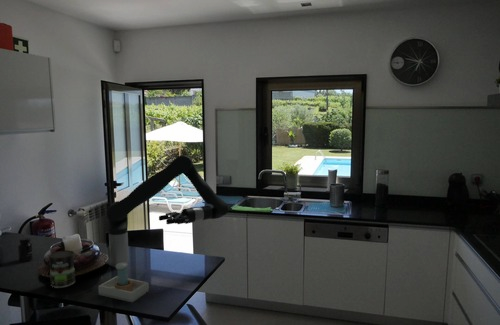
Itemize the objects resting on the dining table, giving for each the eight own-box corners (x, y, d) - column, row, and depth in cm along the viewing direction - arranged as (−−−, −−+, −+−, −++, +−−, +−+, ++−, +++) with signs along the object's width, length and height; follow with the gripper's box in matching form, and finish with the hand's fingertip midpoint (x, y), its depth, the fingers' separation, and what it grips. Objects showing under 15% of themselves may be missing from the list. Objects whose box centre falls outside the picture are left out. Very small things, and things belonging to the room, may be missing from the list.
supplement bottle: (32, 261, 193) (30, 240, 192) (17, 263, 191) (15, 241, 190) (34, 257, 200) (33, 236, 199) (20, 258, 197) (18, 237, 196)
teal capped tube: (115, 291, 157) (113, 266, 155) (124, 286, 161) (121, 261, 159) (124, 294, 155) (121, 267, 153) (132, 288, 159) (129, 263, 157)
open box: (98, 294, 156) (98, 284, 156) (116, 284, 166) (116, 274, 166) (132, 302, 149) (131, 292, 149) (148, 291, 160) (148, 281, 159)
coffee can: (73, 286, 164) (71, 256, 162) (48, 289, 161) (46, 259, 159) (77, 277, 174) (75, 249, 172) (53, 279, 171) (52, 251, 169)
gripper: (185, 205, 187) (156, 209, 177) (199, 210, 176) (169, 215, 166) (186, 219, 188) (157, 224, 178) (199, 225, 177) (169, 231, 167)
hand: (162, 220), depth 172 cm, fingers open, 8 cm apart
